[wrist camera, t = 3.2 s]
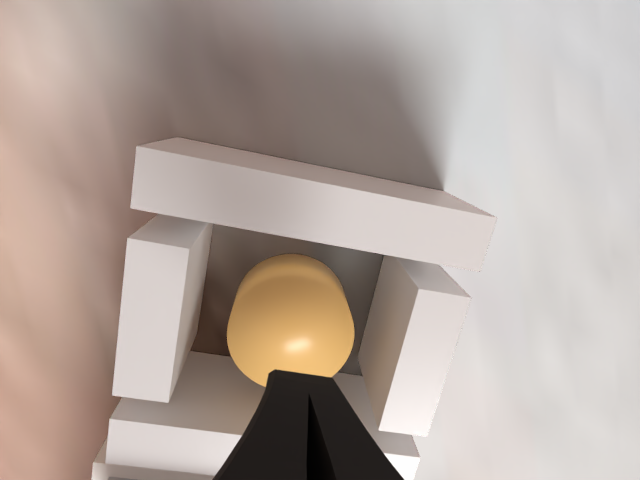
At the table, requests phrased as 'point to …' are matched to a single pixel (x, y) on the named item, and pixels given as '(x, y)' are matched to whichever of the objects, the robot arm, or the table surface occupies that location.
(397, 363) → the button guard
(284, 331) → the button
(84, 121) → the table surface
